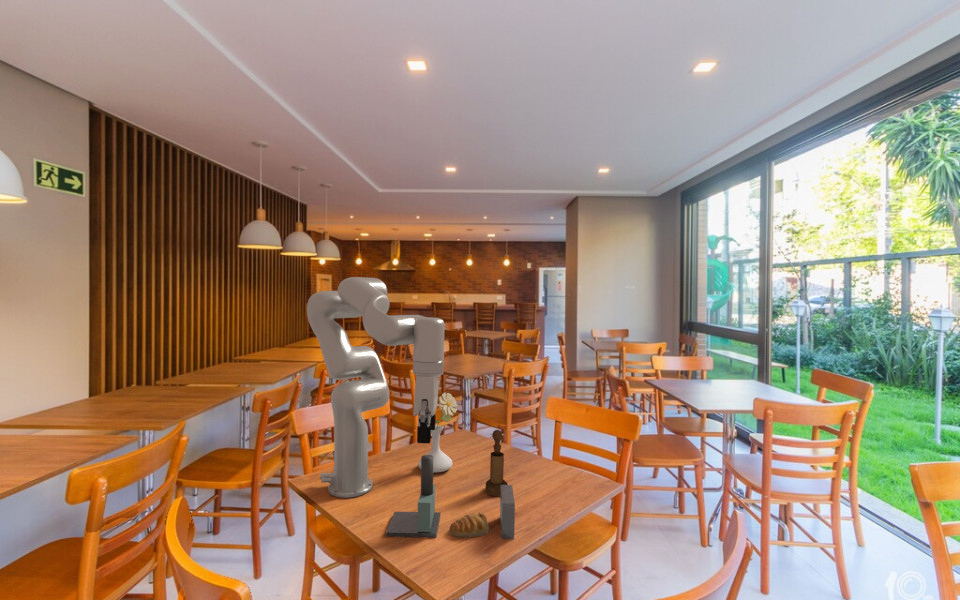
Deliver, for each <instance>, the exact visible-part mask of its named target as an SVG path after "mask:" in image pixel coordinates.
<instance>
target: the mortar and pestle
mask: <svg viewBox="0 0 960 600" xmlns="http://www.w3.org/2000/svg"><path fill="white" fill-rule="evenodd" d="M491 436H492V439H493V441H494V444H493V447H492V448H493V451H491V453H490V469H489V471H490V472H489V473H490V474H489V479H488V480H487V481H486V482H485V489H484V490H485V493H486V494H488V496H492V497H500V488H501V485H509V484H508V482H507V481H506V480H505V479H504V467H505V466H504V464H505V463H504V462H505V461H504V460H505V454H504V452H502V451H501V449H502V445H501V440H502V439H503V432H502V431H501V430H500V429H495V430H494V431H493V432H492V434H491Z"/></svg>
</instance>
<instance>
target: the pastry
mask: <svg viewBox="0 0 960 600" xmlns="http://www.w3.org/2000/svg"><path fill="white" fill-rule="evenodd" d="M487 518H488V517H487V516H486V514H485V513H483V512H481V511H480V512H478V513H472V514H470V513H469V514H465V516H463V517H461V518H459V519H457V520H455V521H454V522H452V523H451V524H450V526H449V531H448V532H449V533H450V535H452V536H453V537H456V538H470V539H471V538H475V537H480V536H485V535H487V534H489V532H490V526H489V523H488V520H487Z"/></svg>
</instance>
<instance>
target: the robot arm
mask: <svg viewBox="0 0 960 600" xmlns="http://www.w3.org/2000/svg"><path fill="white" fill-rule="evenodd" d="M306 305H307V306H306V314H307V315H306V316H307V319H308V323H309V326H310V328H311V330H312V332H313V333H314V335H315V337H316V339H317V341H318V344H319V348H320V351H321V354H322V357H323V360H324V363H325V367H326V370H327V372H328V373H327V374H328V375H329V376H330V377H331V379H333V380H336V381H337V380H338V381H339V380H348V379H356V378H361V379H356V380H348V381H345V382H342V383H339V384H338V385H336V386H335V387H334V388H333V390H332V392H331V395H330V404H331V409H332V415H333V430H334V431H333V433H334V435H333V438H334V439H333V440H334V441H333V442H334V443H333V445H334V447H333V461H334V462H333V471H332V472H331V473H330V472H329V473H328V472H321V473H320V475H319V480H320V482H321V483H323V484H326V483H328V486H327V487H328V488H327V492H328V494H330V496H332V497H337V498H345V499H346V498H355V497H359V496H362V495H364V494H367V493H369V492H370V491H371V490H372V489H373V486H374V484H373V480H372V479H371V478H369V477H368V472H369V471H368V466H369V465H368V463H369V462H368V460H369V456H368V455H369V450H368V449H369V427H368V424H367V422H366V420H365V419H364V418H363V416H362V413H365V412H368V411H371V410H377V409H379V408H382V407H384V406H385V405H387V403H388V402H389V399H390V389H389V385H388V381H387V378H386V376H385V372H384V369H383V367H382V364H381V360H380V358H379V356H378V353H377V352H376V351H375V350H374V349H373V348H372V347H370V346H365V345H359V346H352V345H351V342H350V340H349V337H348V334H347V332H346V330H345V329H344V328H343V326H342V325H340V323H338V322H336V321H335V319H348V318H352V319H354V318H358V317H359V318H360V317H362V318H361V319H362V320H361V321H362V325H363V327H364V330H365V332H366V333H367V334H368V335H369V336H370V337H371V338H373V339H374V340H375V341H377V342H379V343H380V344H381V345H384V346H388V347H391V346H392V347H394V346H402V345H403V346H405V345H413V351H412V352H413V354H412V355H413V356H412V357H413V358H412V374H413V375H415V377H416V378H415V385H414V400H413V414H412V415H413V416H414V417H417V416H418V419H417V421H418V422H417V426H416V429H417V430H416V443H417V444H430V443H432V434H431V430H435V425H436V422H435V420H436V417H437V414H436V410H437V407H438V402H439V380H440V379H439V376H442V375H444V365H445V362H444V360H445V359H444V358H445V329H446V327H445V322H444V320H443V319H442V318H439V317H427V316H424V315H421V314H397V315H388V314H387V313H388V311H389V310H390V299H389V297H388V288H387V285H386V283H385V282H384V281H382V280H381V279H380V278H377V277H365V276H364V277H362V276H360V277H359V276H355V277H354V276H351V277H347V278H345V279H343V280H342V281H341V282H340V283H339V285H338V287H337V290H321V291H318V292H315V293H314V294H312V295H310V297H309V298H308V301H307V304H306Z"/></svg>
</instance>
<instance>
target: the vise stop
mask: <svg viewBox="0 0 960 600" xmlns="http://www.w3.org/2000/svg"><path fill="white" fill-rule="evenodd" d="M499 498H500V501H499V506H500V507H499V521H500V534H501V535H500V537H501V540H515V524H516V523H515V520H516V519H515V517H516V516H515V515H516V513H515V512H516V510H515V509H516V505H515V504H516V502H515V495H514V489H513V485H512V484H508V485H501V488H500V496H499Z"/></svg>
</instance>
